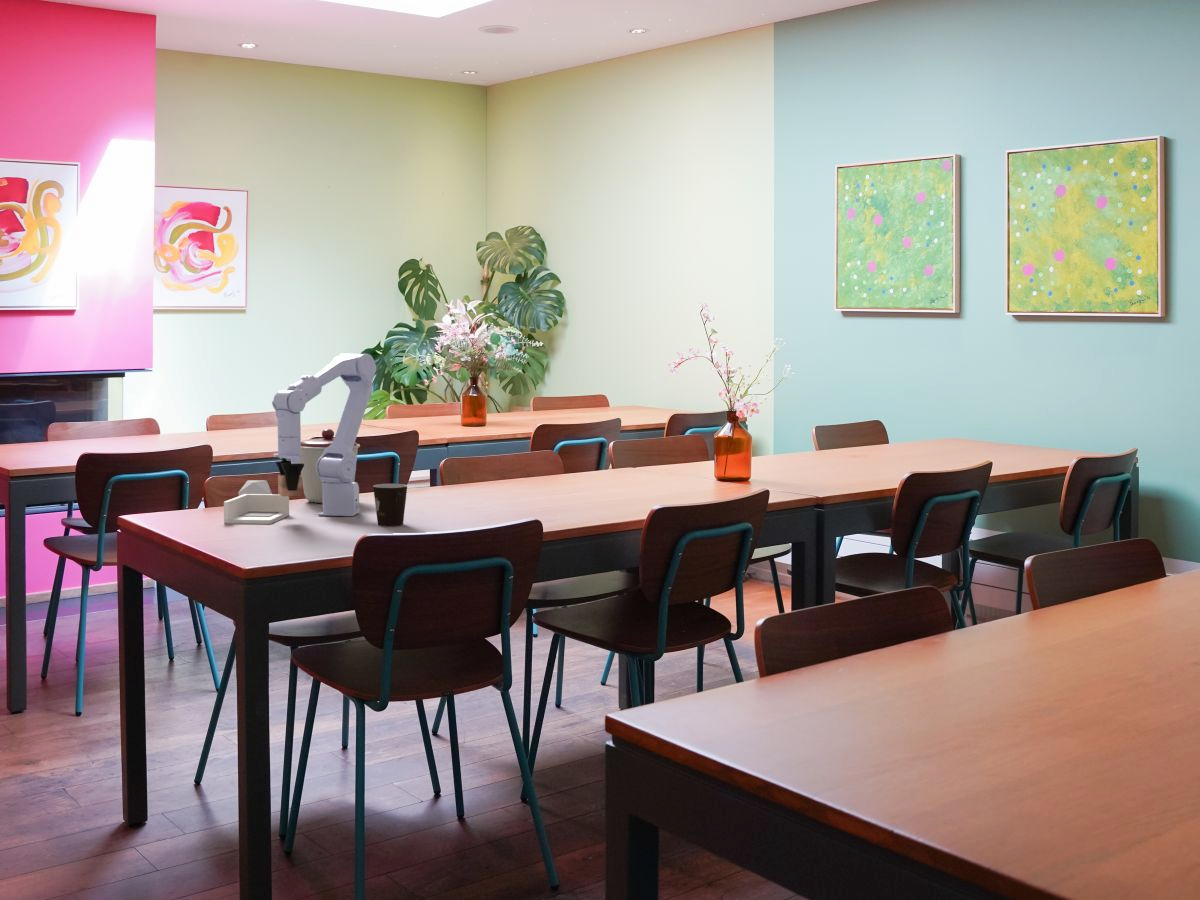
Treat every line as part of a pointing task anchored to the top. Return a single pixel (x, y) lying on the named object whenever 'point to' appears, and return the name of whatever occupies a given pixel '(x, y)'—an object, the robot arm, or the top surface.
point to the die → (255, 487)
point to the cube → (284, 490)
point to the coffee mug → (390, 503)
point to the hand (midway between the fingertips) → (289, 489)
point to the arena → (256, 509)
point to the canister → (309, 458)
